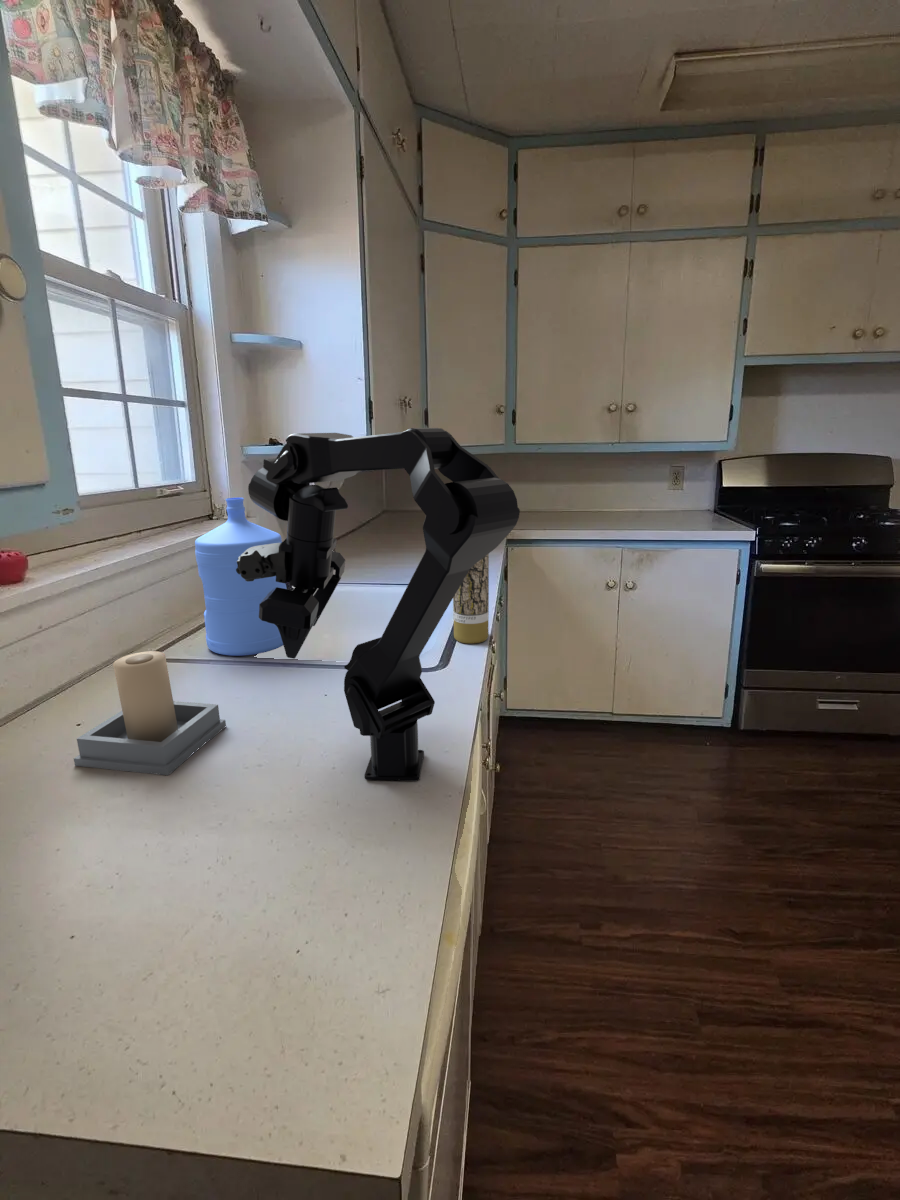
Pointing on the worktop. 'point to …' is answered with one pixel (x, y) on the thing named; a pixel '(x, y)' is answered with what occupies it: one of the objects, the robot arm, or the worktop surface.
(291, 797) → the worktop surface
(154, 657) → the beige knobbed cylinder
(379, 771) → the robot arm
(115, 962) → the worktop surface
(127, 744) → the grey rimmed tray
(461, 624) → the paper tube
